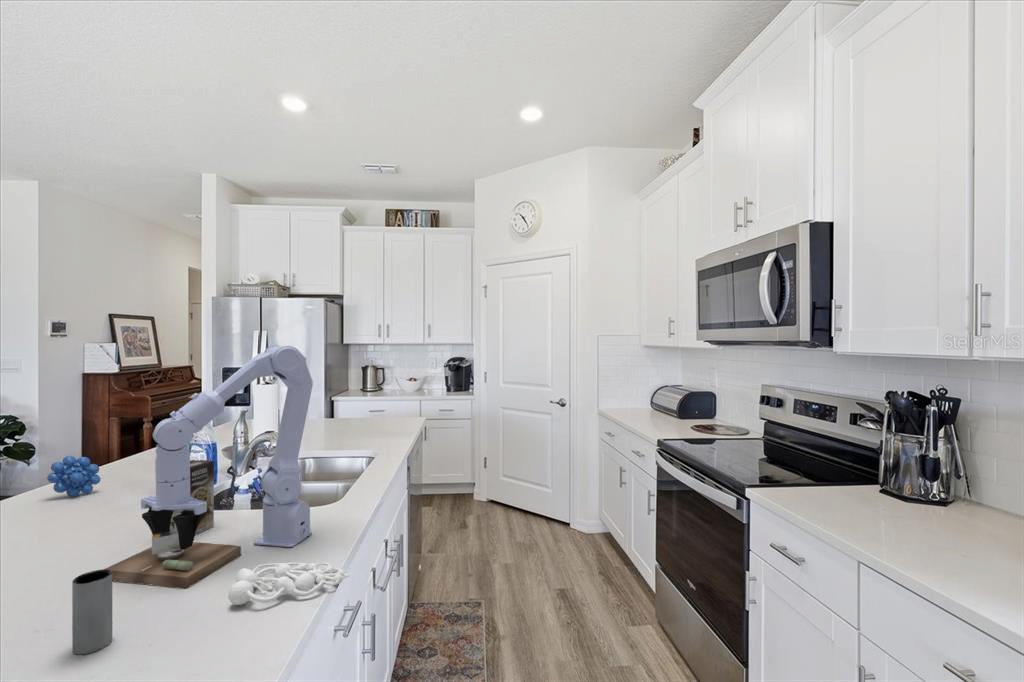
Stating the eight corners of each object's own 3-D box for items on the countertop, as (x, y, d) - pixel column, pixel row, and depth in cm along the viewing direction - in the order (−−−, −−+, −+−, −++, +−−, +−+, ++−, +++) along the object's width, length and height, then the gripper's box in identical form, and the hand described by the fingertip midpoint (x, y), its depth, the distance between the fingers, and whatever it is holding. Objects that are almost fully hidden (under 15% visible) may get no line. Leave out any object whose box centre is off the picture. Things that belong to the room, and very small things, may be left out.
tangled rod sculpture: (347, 568, 101) (347, 548, 101) (348, 597, 87) (349, 573, 88) (240, 581, 95) (242, 558, 95) (224, 614, 81) (225, 587, 82)
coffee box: (183, 541, 111) (183, 469, 111) (159, 538, 112) (159, 468, 112) (215, 526, 120) (215, 460, 120) (192, 524, 121) (192, 458, 121)
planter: (65, 650, 72) (65, 580, 72) (100, 633, 76) (100, 567, 76) (84, 658, 70) (84, 586, 70) (119, 639, 75) (119, 572, 75)
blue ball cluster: (49, 504, 135) (49, 461, 135) (45, 499, 140) (45, 457, 140) (103, 494, 144) (103, 453, 144) (98, 490, 149) (98, 450, 149)
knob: (190, 548, 102) (190, 524, 102) (188, 556, 98) (188, 532, 98) (154, 554, 99) (154, 530, 99) (151, 562, 95) (151, 538, 95)
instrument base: (240, 555, 104) (240, 538, 104) (186, 588, 90) (186, 568, 90) (166, 549, 107) (166, 532, 107) (103, 580, 93) (103, 561, 93)
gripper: (125, 481, 97) (126, 550, 97) (183, 487, 93) (185, 558, 93) (159, 472, 104) (160, 536, 104) (215, 476, 100) (216, 543, 100)
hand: (174, 546), depth 99 cm, fingers closed on knob, 5 cm apart
